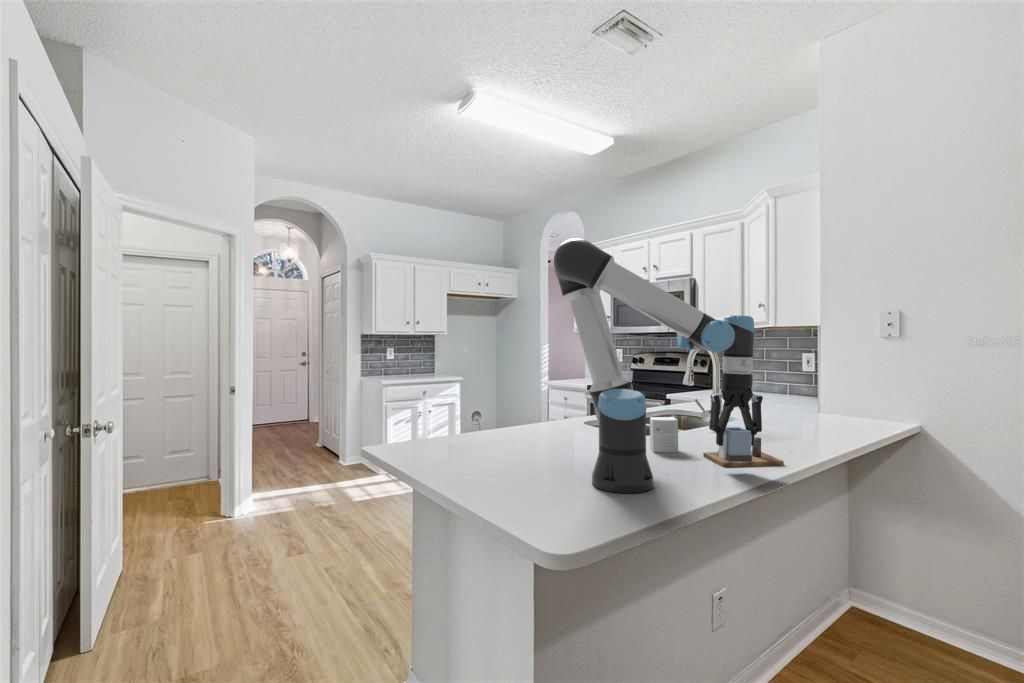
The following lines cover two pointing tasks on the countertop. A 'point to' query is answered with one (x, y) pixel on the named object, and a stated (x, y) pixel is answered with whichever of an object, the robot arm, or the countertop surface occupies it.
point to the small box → (663, 434)
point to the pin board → (757, 460)
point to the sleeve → (738, 444)
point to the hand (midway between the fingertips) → (734, 457)
